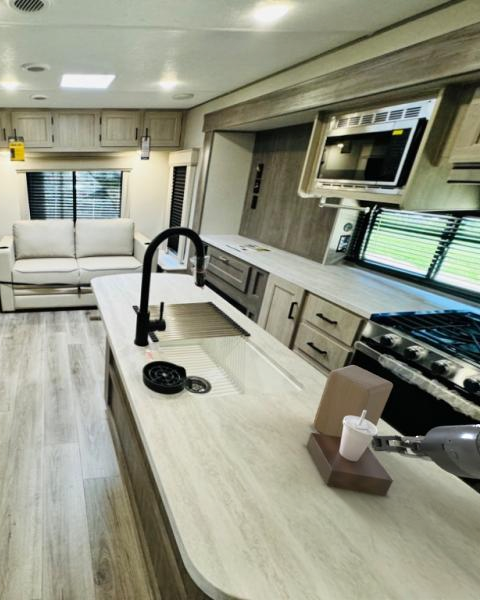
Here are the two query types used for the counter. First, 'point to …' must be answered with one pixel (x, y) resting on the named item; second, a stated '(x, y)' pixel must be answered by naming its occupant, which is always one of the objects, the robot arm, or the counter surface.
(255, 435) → the counter surface
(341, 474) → the walnut block
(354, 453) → the smoothie
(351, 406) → the wooden block
